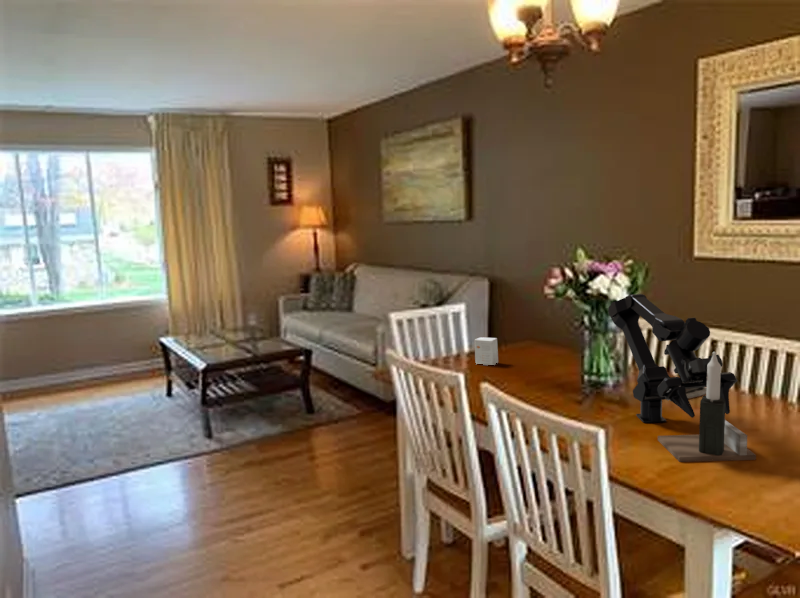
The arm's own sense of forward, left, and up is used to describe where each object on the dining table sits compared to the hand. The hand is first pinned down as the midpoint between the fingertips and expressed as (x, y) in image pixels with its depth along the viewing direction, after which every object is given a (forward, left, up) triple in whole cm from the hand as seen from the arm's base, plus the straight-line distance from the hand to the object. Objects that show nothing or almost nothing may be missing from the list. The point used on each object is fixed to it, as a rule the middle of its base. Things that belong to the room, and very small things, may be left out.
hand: (710, 415), depth 147 cm
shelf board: (-3, 0, -10) cm, 11 cm away
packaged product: (-50, +13, -11) cm, 52 cm away
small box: (-97, -46, -10) cm, 108 cm away
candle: (+1, 0, -9) cm, 9 cm away
